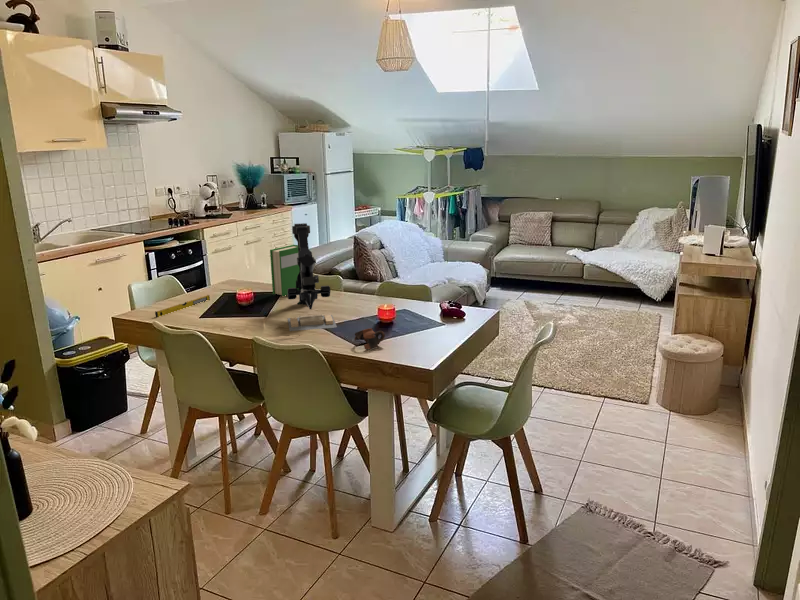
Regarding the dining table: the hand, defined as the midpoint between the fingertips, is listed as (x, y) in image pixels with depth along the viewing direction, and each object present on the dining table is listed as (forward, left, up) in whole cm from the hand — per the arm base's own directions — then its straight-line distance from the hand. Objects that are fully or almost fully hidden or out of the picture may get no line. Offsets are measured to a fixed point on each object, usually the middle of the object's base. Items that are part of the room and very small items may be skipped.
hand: (310, 309), depth 265 cm
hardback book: (-52, -31, -7) cm, 61 cm away
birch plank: (-3, -1, -5) cm, 6 cm away
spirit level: (-14, -70, -8) cm, 72 cm away
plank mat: (+1, +1, -7) cm, 7 cm away
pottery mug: (+23, +33, -7) cm, 40 cm away
